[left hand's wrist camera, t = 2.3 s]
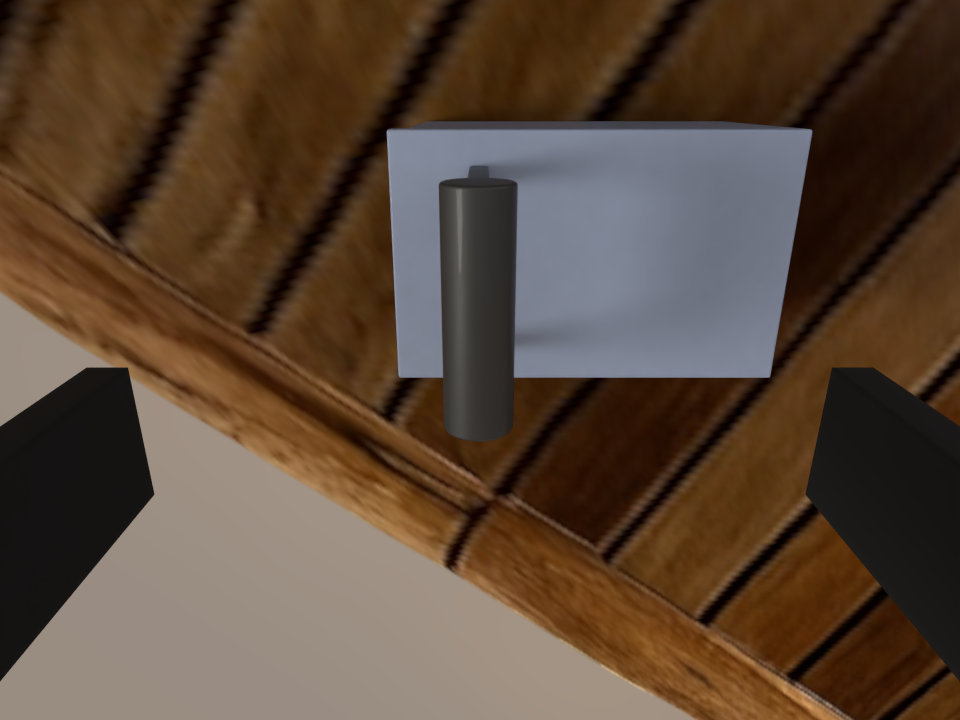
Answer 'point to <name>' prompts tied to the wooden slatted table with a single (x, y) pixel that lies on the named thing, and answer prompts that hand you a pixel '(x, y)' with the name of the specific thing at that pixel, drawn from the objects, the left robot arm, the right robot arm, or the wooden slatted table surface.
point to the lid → (587, 256)
